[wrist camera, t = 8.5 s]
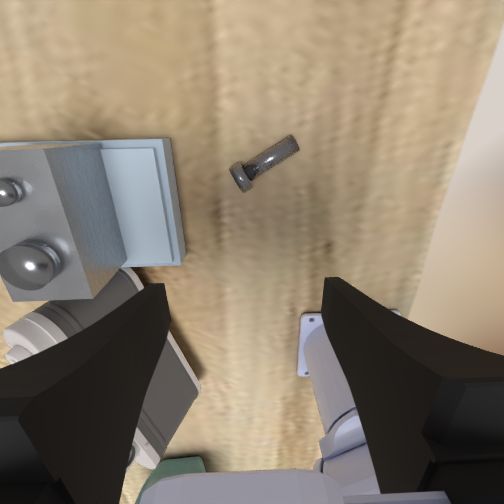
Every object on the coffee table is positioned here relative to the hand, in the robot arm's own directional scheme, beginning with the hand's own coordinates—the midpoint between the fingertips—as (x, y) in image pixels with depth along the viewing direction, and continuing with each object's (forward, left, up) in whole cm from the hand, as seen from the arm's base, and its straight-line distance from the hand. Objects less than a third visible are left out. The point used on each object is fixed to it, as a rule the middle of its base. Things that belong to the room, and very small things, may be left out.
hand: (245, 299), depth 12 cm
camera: (+12, +11, -11) cm, 19 cm away
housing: (+11, -2, -8) cm, 14 cm away
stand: (+11, -2, -10) cm, 15 cm away
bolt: (-2, -5, -10) cm, 12 cm away
